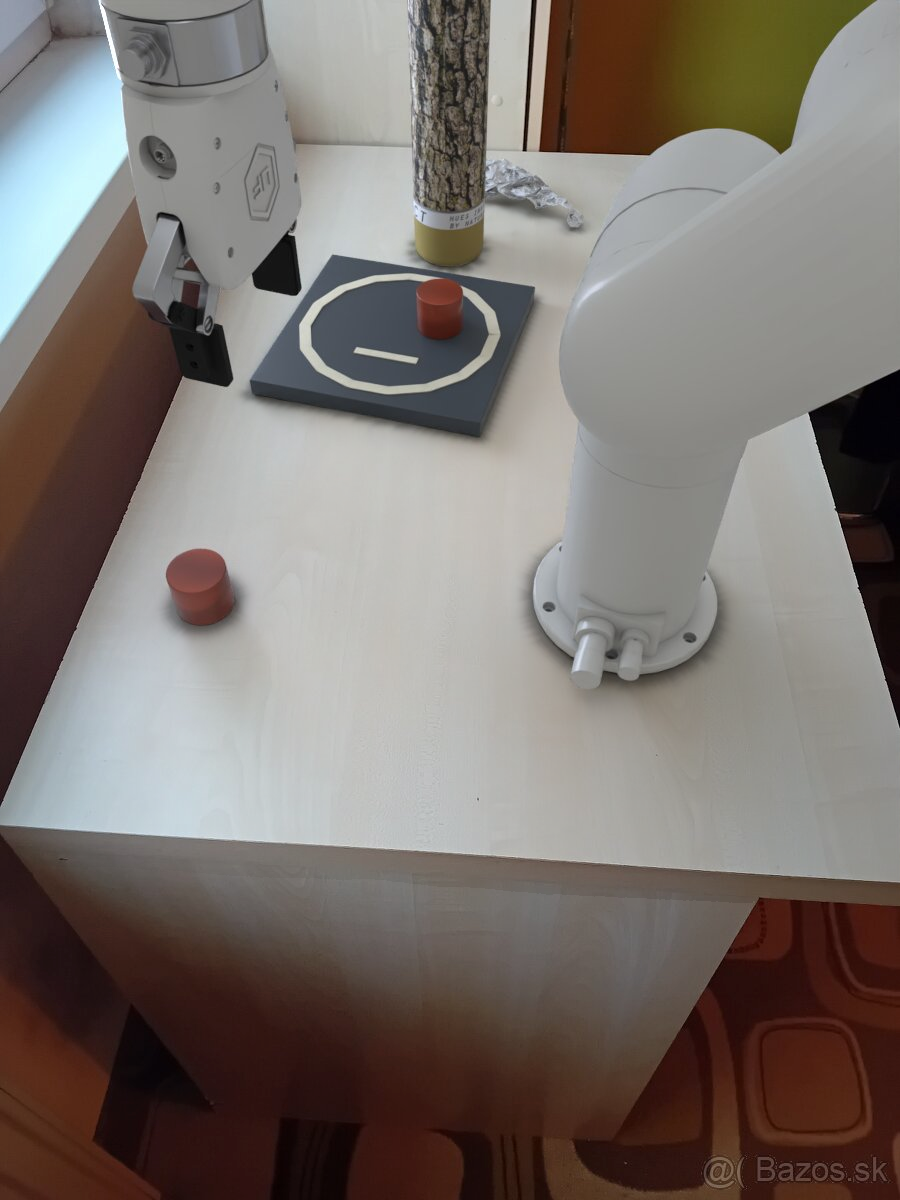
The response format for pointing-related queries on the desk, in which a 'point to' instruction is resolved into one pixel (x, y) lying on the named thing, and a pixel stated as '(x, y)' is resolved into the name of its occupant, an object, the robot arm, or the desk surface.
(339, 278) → the face board
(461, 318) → the eye disc
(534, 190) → the crumpled aluminium foil
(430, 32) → the paper tube
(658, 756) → the desk surface
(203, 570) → the eye disc
